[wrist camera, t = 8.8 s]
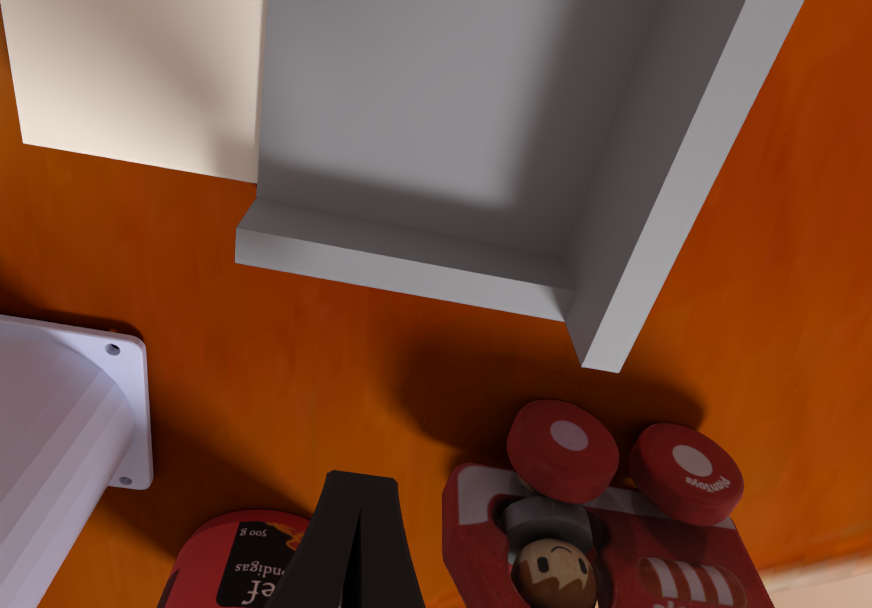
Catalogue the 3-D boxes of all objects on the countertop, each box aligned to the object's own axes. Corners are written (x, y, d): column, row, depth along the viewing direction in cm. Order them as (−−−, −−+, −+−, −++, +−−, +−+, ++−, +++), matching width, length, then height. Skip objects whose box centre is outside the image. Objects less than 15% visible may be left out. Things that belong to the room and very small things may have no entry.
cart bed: (270, 203, 18) (210, 304, 13) (307, -325, 12) (221, -520, 7) (568, 261, 19) (619, 372, 14) (742, -189, 13) (938, -271, 8)
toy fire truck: (467, 379, 22) (494, 663, 14) (750, 433, 24) (937, 715, 15) (424, 495, 26) (424, 780, 17) (674, 534, 28) (790, 811, 19)
